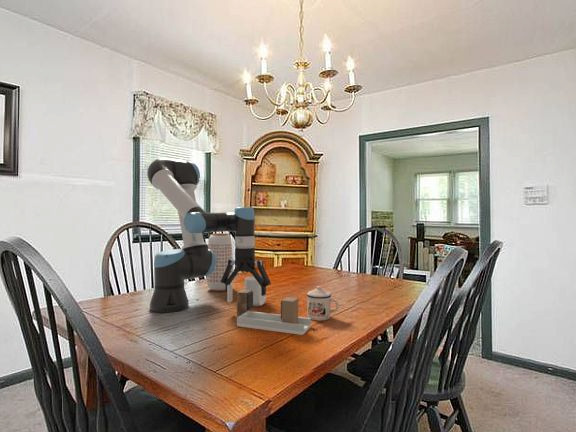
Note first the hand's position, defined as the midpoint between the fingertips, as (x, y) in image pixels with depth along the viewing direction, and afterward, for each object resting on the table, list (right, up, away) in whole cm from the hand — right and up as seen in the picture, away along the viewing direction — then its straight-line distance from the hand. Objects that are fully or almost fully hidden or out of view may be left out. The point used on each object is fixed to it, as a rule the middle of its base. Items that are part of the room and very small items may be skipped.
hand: (245, 302), depth 137 cm
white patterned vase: (-18, -4, +43) cm, 47 cm away
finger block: (0, -5, 0) cm, 5 cm away
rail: (+11, -5, -14) cm, 18 cm away
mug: (+3, -5, +17) cm, 18 cm away
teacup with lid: (+29, -5, -3) cm, 30 cm away
